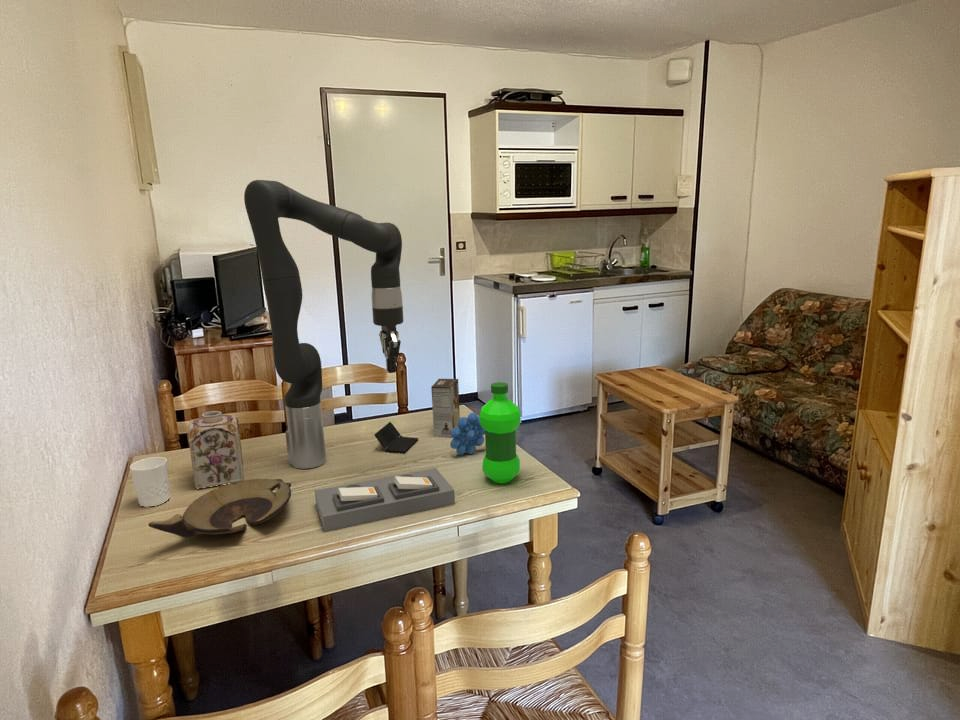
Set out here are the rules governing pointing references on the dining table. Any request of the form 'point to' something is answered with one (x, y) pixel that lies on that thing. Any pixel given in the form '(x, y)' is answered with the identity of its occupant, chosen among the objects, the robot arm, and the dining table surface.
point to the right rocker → (412, 482)
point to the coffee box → (445, 406)
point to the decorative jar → (215, 449)
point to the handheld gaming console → (394, 440)
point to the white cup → (151, 480)
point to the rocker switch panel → (382, 500)
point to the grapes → (467, 434)
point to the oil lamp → (229, 508)
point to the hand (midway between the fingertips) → (391, 372)
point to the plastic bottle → (500, 435)
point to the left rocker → (357, 493)
